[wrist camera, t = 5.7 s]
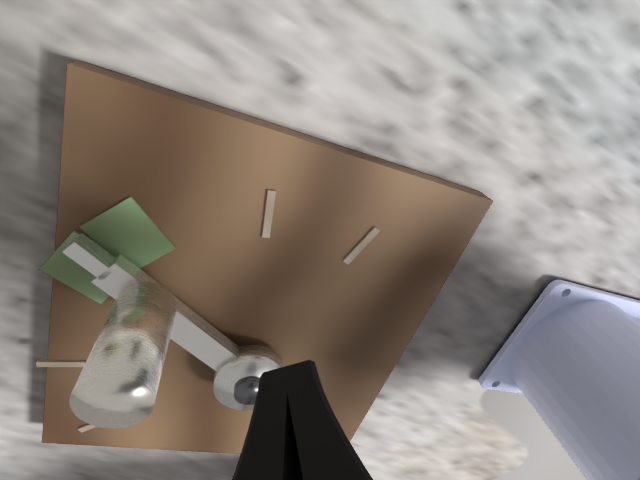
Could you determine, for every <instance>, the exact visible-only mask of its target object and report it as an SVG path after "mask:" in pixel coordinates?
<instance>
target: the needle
mask: <svg viewBox="0 0 640 480" xmlns="http://www.w3.org/2000/svg"><path fill="white" fill-rule="evenodd" d="M62 252H63V253H64V254H65V255H67V256H68V257H69V258H71V259H72V260H74V261H75V262H76V263H78V264H79V265H80V266H82V267H83V268H85V269H86V270H87V271H89V272H90V273H91V274H93V275H94V278H93V280H92V281H91V282H92V283H93V284H94V285H96V286H97V287H99V288H100V289H101V290H103V291H104V292H106V293H107V294H108V295H110V296H111V297H113V298H114V299H115V301H114V303H113V305H112V308H111V310H110V312H109V314H108V316H107V318H106V320H105V322H104V325H103V327H102V329H101V331H100V333H99V335H98V337H97V340H96V342H95V344H94V346H93V348H92V350H91V352H90V354H89V357H88V359H87V361H86V363H85V365H84V367H83V369H82V372H81V374H80V376H79V378H78V380H77V382H76V384H75V386H74V389H73V391H72V393H71V395H70V399H69V404H70V408H71V410H72V411H73V413H74V414H75V415H76V416H77V417H78V418H79V419H81V420H82V421H84V422H86V423H88V424H91V425H94V426H97V427H102V428H124V427H129V426H132V425H135V424H138V423H140V422H141V421H143V420H144V419H146V418H147V417H148V416H149V415H150V414H151V412H152V410H153V407H154V403H155V399H156V395H157V391H158V387H159V382H160V378H161V374H162V370H163V366H164V362H165V357H166V353H167V349H168V345H169V341H170V339H172V340H173V341H174V342H176V343H177V344H179V345H180V346H181V347H183V348H184V349H186V350H187V351H188V352H190V353H191V354H193V355H194V356H195V357H197V358H198V359H200V360H201V361H202V362H204V363H205V364H207V365H208V366H209V367H211V368H212V369H214V370H215V375H214V386H213V391H214V395H215V397H216V398H217V400H218V401H219V402H220V403H222V404H223V405H225V406H226V407H229V408H231V409H235V410H242V411H249V410H253V408H254V404H255V400H256V395H257V391H258V386H259V380H260V376H261V375H262V373H263V372H266V371H270V370H274V369H277V368H281V367H284V364H283V360H282V358H281V357H280V355H279V354H278V353H277V352H275V351H274V350H272V349H271V348H268V347H265V346H261V345H243V346H237V345H236V344H235V343H233V342H232V341H231V340H230V339H228V338H227V337H226V336H225V335H223V334H222V333H221V332H220V331H218V330H217V329H216V328H214V327H213V326H212V325H211V324H209V323H208V322H207V321H206V320H204V319H203V318H202V317H201V316H199V315H198V314H197V313H195V312H194V311H193V310H192V309H190V308H189V307H188V306H187V305H185V304H184V303H183V302H182V301H180V300H179V299H178V298H176V297H175V296H174V295H173V294H172V293H171V292H170V291H169V290H168V289H166V288H165V287H163V286H161V285H160V284H159V283H157V282H156V281H155V280H154V279H152V278H151V277H150V276H149V275H147V274H146V273H145V272H144V271H142V270H141V269H140V268H138V267H137V266H136V265H135V264H133V263H132V262H131V261H130V260H128V259H127V258H126V257H125V256H123V255H122V254H121V253H120V254H119V255H118V256H116V257H115V258H114V257H113V256H112V255H110V254H109V253H108V252H107V251H105V250H104V249H103V248H101V247H100V246H99V245H98V244H96V243H95V242H94V241H92V240H91V239H90V238H88V237H87V236H86V235H85V234H83V233H80V234H79V235H78V236H77V237H76V238H74V239H73V240H72V241H71V242H70V243H69V244H68V245H67V246H66V248H65V249H64V250H63V251H62Z"/></svg>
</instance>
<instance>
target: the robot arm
mask: <svg viewBox="0 0 640 480" xmlns="http://www.w3.org/2000/svg"><path fill="white" fill-rule="evenodd" d="M479 383H480V385H481V386H482V388H486V389H494V390H502V391H509V392H516V393H523V394H524V395H525V396H526V398H527V399H528V401H529V402H530V403H531V405H532V406H533V407H534V409H535V410H536V412H537V413H538V414H539V416H540V417H541V418H542V420H543V421H544V422H545V424H546V425H547V426H548V428H549V429H550V430H551V432H552V433H553V435H554V436H555V437H556V438H557V440H558V441H559V442H560V444H561V445H562V447H563V448H564V449H565V451H566V452H567V453H568V455H569V456H570V457H571V459H572V460H573V462H574V463H575V464H576V466H577V467H578V468H579V469H580V471H581V472H582V474H583V475H584V476H585V478H586V479H587V480H640V301H639V300H636V299H632V298H628V297H624V296H620V295H617V294H613V293H609V292H605V291H601V290H598V289H594V288H590V287H586V286H582V285H578V284H575V283H571V282H567V281H563V280H554V281H552V282H550V283H549V284H548V285H547V287H546V288H545V290H544V291H543V292H542V294H541V295H540V296H539V298H538V299H537V300H536V302H535V303H534V304H533V306H532V307H531V308H530V310H529V311H528V313H527V314H526V315H525V317H524V318H523V319H522V321H521V322H520V323H519V325H518V326H517V327H516V329H515V330H514V332H513V333H512V334H511V336H510V337H509V338H508V340H507V341H506V342H505V344H504V345H503V346H502V348H501V349H500V350H499V352H498V353H497V355H496V356H495V357H494V359H493V360H492V361H491V363H490V364H489V365H488V367H487V368H486V369H485V371H484V372H483V374H482V375H481V376H480V378H479ZM232 480H373V479H372V477H371V476H370V474H369V473H368V471H367V470H366V468H365V466H364V465H363V463H362V462H361V460H360V458H359V457H358V455H357V454H356V452H355V450H354V449H353V447H352V445H351V443H350V442H349V440H348V438H347V436H346V435H345V433H344V431H343V429H342V427H341V425H340V424H339V422H338V420H337V418H336V416H335V414H334V412H333V410H332V408H331V406H330V404H329V402H328V399H327V397H326V395H325V393H324V390H323V387H322V383H321V380H320V377H319V374H318V371H317V367H316V364H315V362H314V361H312V360H307V361H303V362H299V363H296V364H292V365H288V366H285V367H281V368H277V369H274V370H270V371H266V372H263V373H262V375H261V376H260V380H259V386H258V391H257V395H256V400H255V404H254V408H253V413H252V416H251V420H250V424H249V428H248V431H247V435H246V438H245V441H244V445H243V448H242V451H241V455H240V458H239V461H238V465H237V468H236V471H235V473H234V476H233V479H232Z"/></svg>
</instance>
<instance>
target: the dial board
mask: <svg viewBox="0 0 640 480" xmlns="http://www.w3.org/2000/svg"><path fill="white" fill-rule="evenodd" d="M492 202H493V201H492V200H491V199H490V198H488V197H487V196H486V195H484V194H483V193H482V192H479V191H476V190H473V189H470V188H467V187H464V186H461V185H458V184H455V183H452V182H449V181H446V180H443V179H440V178H437V177H434V176H430V175H427V174H424V173H421V172H418V171H415V170H412V169H409V168H406V167H403V166H400V165H397V164H394V163H391V162H388V161H385V160H382V159H379V158H376V157H373V156H370V155H367V154H363V153H360V152H357V151H354V150H351V149H348V148H345V147H342V146H339V145H336V144H333V143H330V142H327V141H324V140H321V139H318V138H315V137H312V136H309V135H306V134H303V133H300V132H296V131H293V130H290V129H287V128H284V127H281V126H278V125H275V124H272V123H269V122H266V121H263V120H260V119H257V118H254V117H251V116H248V115H245V114H242V113H239V112H236V111H233V110H229V109H226V108H223V107H220V106H217V105H214V104H211V103H208V102H205V101H202V100H199V99H196V98H193V97H190V96H187V95H184V94H181V93H178V92H175V91H172V90H169V89H166V88H162V87H159V86H156V85H153V84H150V83H147V82H144V81H141V80H138V79H135V78H132V77H129V76H126V75H123V74H120V73H117V72H114V71H111V70H108V69H105V68H102V67H99V66H95V65H92V64H89V63H86V62H83V61H80V60H79V61H75V62H71V63H67V75H66V90H65V105H64V120H63V135H62V150H61V165H60V180H59V195H58V209H57V224H56V239H55V252H54V253H53V255H52V256H51V257H50V258H49V259H48V260H47V261H46V262H45V263H44V265H43V266H42V267H41V268H40V269H39V270H40V271H42V272H44V273H46V274H48V275H49V276H51V277H53V284H52V299H51V314H50V329H49V344H48V358H47V360H37V361H36V365H37V367H47V373H46V388H45V403H44V418H43V433H42V443H58V444H75V445H92V446H110V447H127V448H145V449H162V450H180V451H197V452H215V453H232V454H241V451H242V448H243V445H244V441H245V438H246V435H247V431H248V428H249V424H250V420H251V416H252V413H253V410H249V411H242V410H235V409H231V408H229V407H226V406H225V405H223V404H222V403H220V402H219V401H218V400H217V398H216V397H215V395H214V391H213V386H214V375H215V370H214V369H212V368H211V367H209V366H208V365H207V364H205V363H204V362H202V361H201V360H200V359H198V358H197V357H195V356H194V355H193V354H191V353H190V352H188V351H187V350H186V349H184V348H183V347H181V346H180V345H179V344H177V343H176V342H174V341H173V340H172V339H170V341H169V345H168V349H167V353H166V357H165V362H164V366H163V370H162V374H161V378H160V382H159V387H158V391H157V395H156V399H155V403H154V407H153V410H152V412H151V414H150V415H149V416H148V417H147V418H146V419H144V420H143V421H141V422H140V423H138V424H135V425H132V426H129V427H124V428H102V427H97V426H94V425H91V424H88V423H86V422H84V421H82V420H81V419H79V418H78V417H77V416H76V415H75V414H74V413H73V411H72V410H71V408H70V404H69V399H70V395H71V393H72V391H73V389H74V386H75V384H76V382H77V380H78V378H79V376H80V374H81V372H82V369H83V367H84V365H85V363H86V361H87V359H88V357H89V354H90V352H91V350H92V348H93V346H94V344H95V342H96V340H97V337H98V335H99V333H100V331H101V329H102V327H103V325H104V322H105V320H106V318H107V316H108V314H109V312H110V310H111V308H112V305H113V303H114V301H115V299H114V298H113V297H111V296H110V295H108V294H107V293H106V292H104V291H103V290H101V289H100V288H99V287H97V286H96V285H94V284H93V283H92V282H91V281H92V280H93V278H94V275H93V274H91V273H90V272H89V271H87V270H86V269H85V268H83V267H82V266H80V265H79V264H78V263H76V262H75V261H74V260H72V259H71V258H69V257H68V256H67V255H65V254H64V253H63V252H62V251H63V250H64V249H65V248H66V246H67V245H68V244H69V243H70V242H71V241H72V240H73V239H74V238H76V237H77V236H78V235H79V234H80V233H83V234H85V235H86V236H87V237H88V238H90V239H91V240H92V241H94V242H95V243H96V244H98V245H99V246H100V247H101V248H103V249H104V250H105V251H107V252H108V253H109V254H110V255H112V256H113V257H114V258H115V257H116V256H118V255H119V254H120V253H121V254H122V255H123V256H125V257H126V258H127V259H128V260H130V261H131V262H132V263H133V264H135V265H136V266H137V267H138V268H140V269H141V270H142V271H144V272H145V273H146V274H147V275H149V276H150V277H151V278H152V279H154V280H155V281H156V282H157V283H159V284H160V285H161V286H163V287H165V288H166V289H168V290H169V291H170V292H171V293H172V294H173V295H174V296H175V297H176V298H178V299H179V300H180V301H182V302H183V303H184V304H185V305H187V306H188V307H189V308H190V309H192V310H193V311H194V312H195V313H197V314H198V315H199V316H201V317H202V318H203V319H204V320H206V321H207V322H208V323H209V324H211V325H212V326H213V327H214V328H216V329H217V330H218V331H220V332H221V333H222V334H223V335H225V336H226V337H227V338H228V339H230V340H231V341H232V342H233V343H235V344H236V345H237V346H243V345H261V346H265V347H268V348H271V349H272V350H274V351H275V352H277V353H278V354H279V355H280V357H281V358H282V360H283V364H284V367H285V366H288V365H292V364H296V363H299V362H303V361H307V360H312V361H314V362H315V364H316V367H317V371H318V374H319V377H320V380H321V383H322V387H323V390H324V393H325V395H326V397H327V399H328V402H329V404H330V406H331V408H332V410H333V412H334V414H335V416H336V418H337V420H338V422H339V424H340V425H341V427H342V429H343V431H344V433H345V435H346V436H347V438H348V440H349V442H350V440H351V439H352V437H353V435H354V434H355V432H356V430H357V429H358V427H359V425H360V424H361V422H362V420H363V419H364V417H365V415H366V414H367V412H368V410H369V409H370V407H371V405H372V404H373V402H374V400H375V398H376V397H377V395H378V393H379V392H380V390H381V388H382V387H383V385H384V383H385V382H386V380H387V378H388V377H389V375H390V373H391V372H392V370H393V368H394V367H395V365H396V363H397V362H398V360H399V358H400V357H401V355H402V353H403V352H404V350H405V348H406V346H407V345H408V343H409V341H410V340H411V338H412V336H413V335H414V333H415V331H416V330H417V328H418V326H419V325H420V323H421V321H422V320H423V318H424V316H425V315H426V313H427V311H428V310H429V308H430V306H431V305H432V303H433V301H434V300H435V298H436V296H437V294H438V293H439V291H440V289H441V288H442V286H443V284H444V283H445V281H446V279H447V278H448V276H449V274H450V273H451V271H452V269H453V268H454V266H455V264H456V263H457V261H458V259H459V258H460V256H461V254H462V253H463V251H464V249H465V248H466V246H467V244H468V242H469V241H470V239H471V237H472V236H473V234H474V232H475V231H476V229H477V227H478V226H479V224H480V222H481V221H482V219H483V217H484V216H485V214H486V212H487V211H488V209H489V207H490V206H491V204H492Z"/></svg>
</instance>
